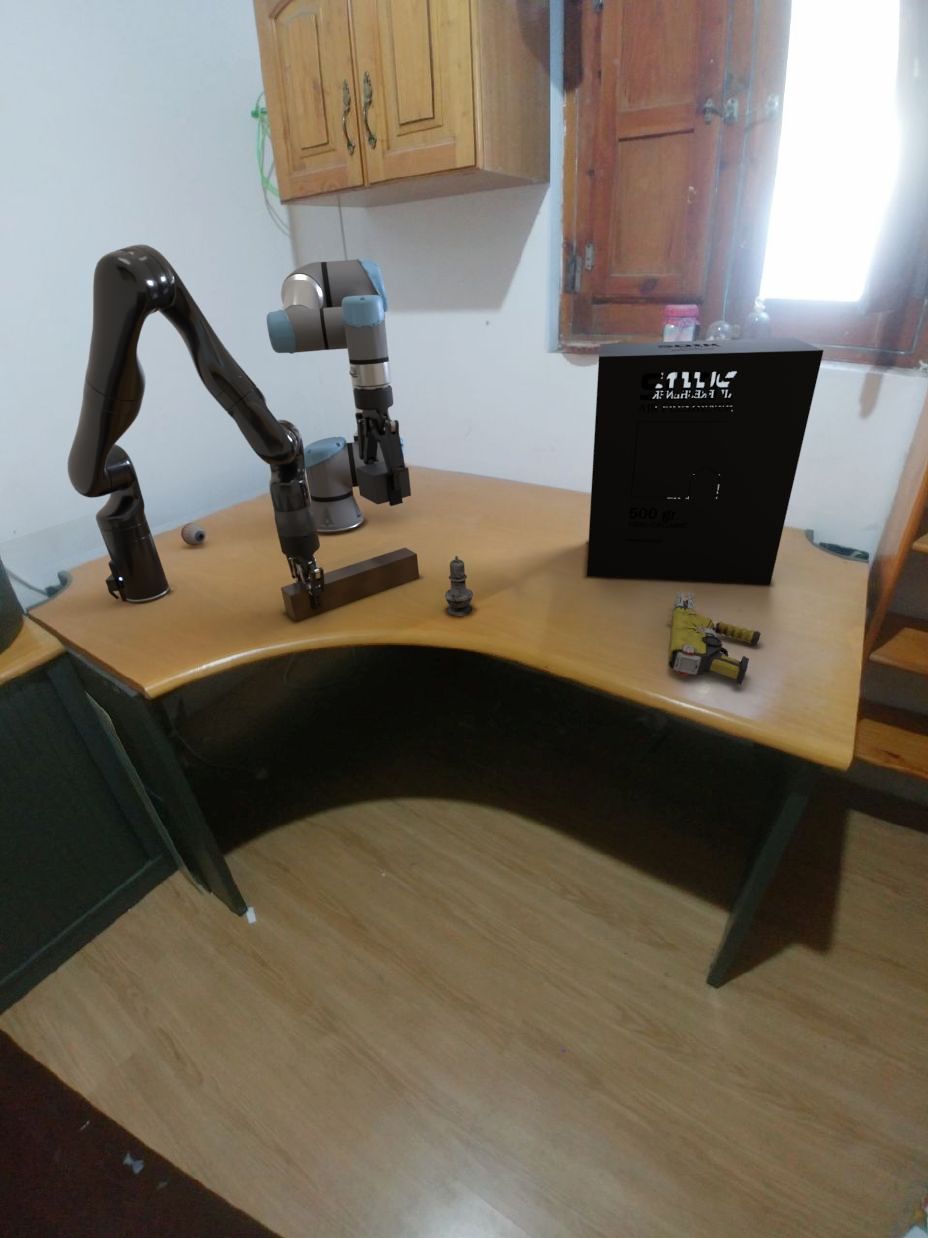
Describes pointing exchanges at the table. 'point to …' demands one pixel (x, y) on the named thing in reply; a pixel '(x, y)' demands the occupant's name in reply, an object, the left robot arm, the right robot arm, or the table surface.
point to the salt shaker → (458, 590)
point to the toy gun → (704, 643)
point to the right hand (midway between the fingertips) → (385, 498)
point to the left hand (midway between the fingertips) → (312, 603)
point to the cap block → (379, 482)
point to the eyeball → (193, 534)
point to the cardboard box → (696, 457)
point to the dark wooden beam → (353, 583)
